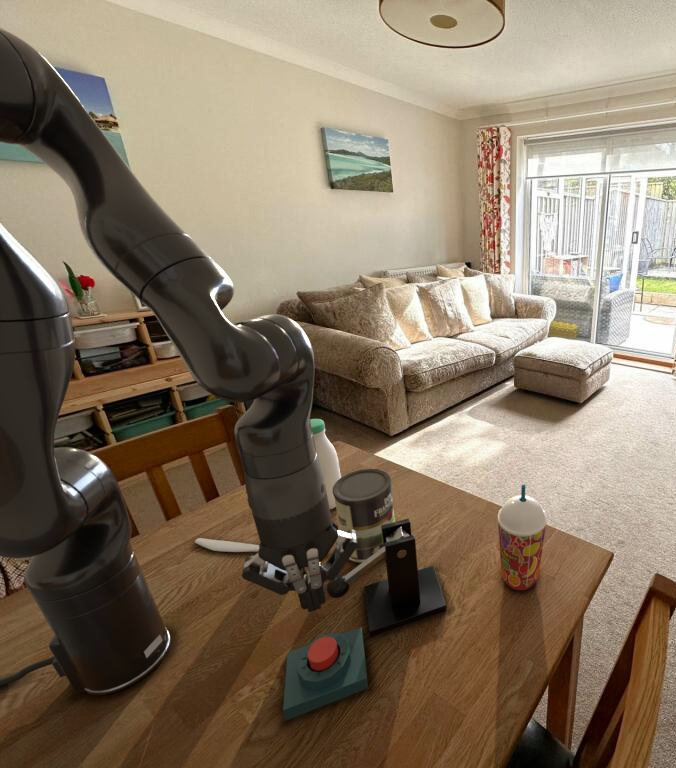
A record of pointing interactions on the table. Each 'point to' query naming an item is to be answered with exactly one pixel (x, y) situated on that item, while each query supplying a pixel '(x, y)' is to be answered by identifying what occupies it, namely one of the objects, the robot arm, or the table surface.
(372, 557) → the lever
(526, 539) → the smoothie
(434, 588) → the bracket
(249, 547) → the butter knife
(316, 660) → the button
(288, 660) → the button block
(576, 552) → the table surface
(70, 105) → the robot arm
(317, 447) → the milk bottle
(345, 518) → the coffee can
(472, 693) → the table surface
